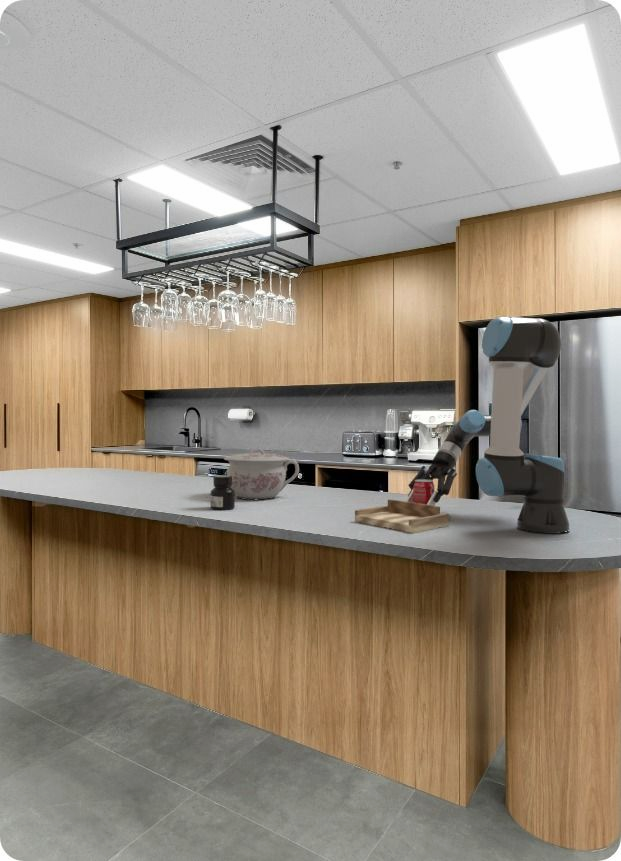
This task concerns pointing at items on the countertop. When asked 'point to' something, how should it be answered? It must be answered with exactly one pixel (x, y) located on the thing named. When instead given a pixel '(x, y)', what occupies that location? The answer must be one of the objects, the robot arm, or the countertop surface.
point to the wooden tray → (404, 516)
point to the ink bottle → (222, 493)
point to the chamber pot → (259, 474)
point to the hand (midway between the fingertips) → (417, 506)
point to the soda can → (423, 491)
